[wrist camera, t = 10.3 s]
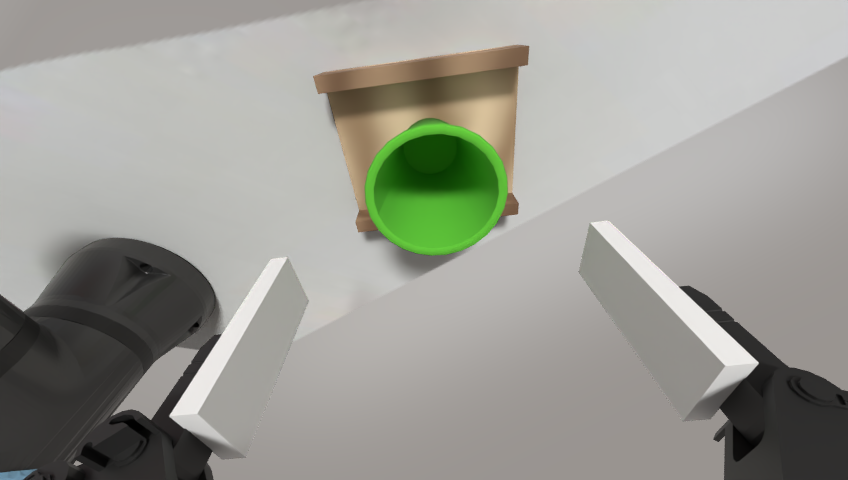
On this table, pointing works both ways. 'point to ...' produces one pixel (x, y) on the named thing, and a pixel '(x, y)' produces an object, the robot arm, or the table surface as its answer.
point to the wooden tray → (425, 106)
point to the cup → (436, 188)
